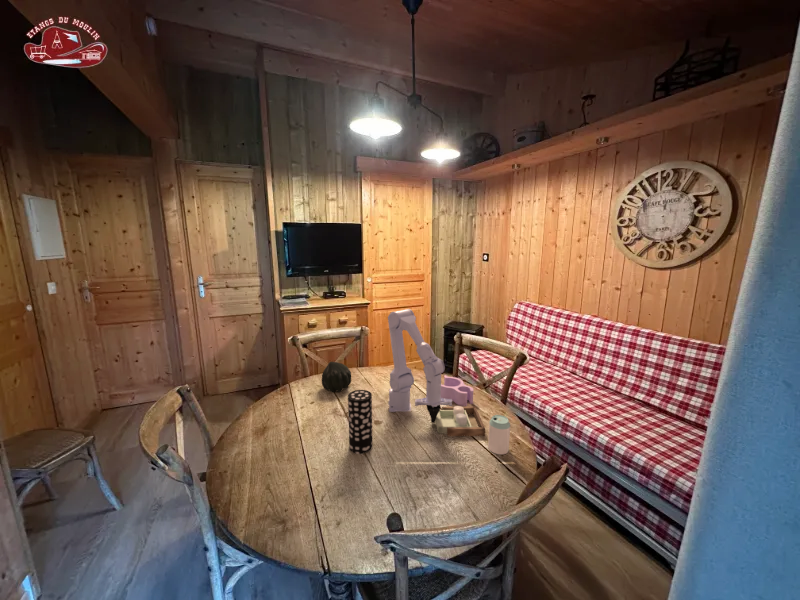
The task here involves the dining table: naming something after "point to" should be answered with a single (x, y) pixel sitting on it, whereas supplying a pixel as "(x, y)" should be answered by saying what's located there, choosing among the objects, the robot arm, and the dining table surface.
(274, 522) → the dining table surface
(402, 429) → the dining table surface
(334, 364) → the squash
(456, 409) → the pale pink cylinder
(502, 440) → the can
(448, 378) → the clip
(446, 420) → the tray
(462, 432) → the rack
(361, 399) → the spotted tube
